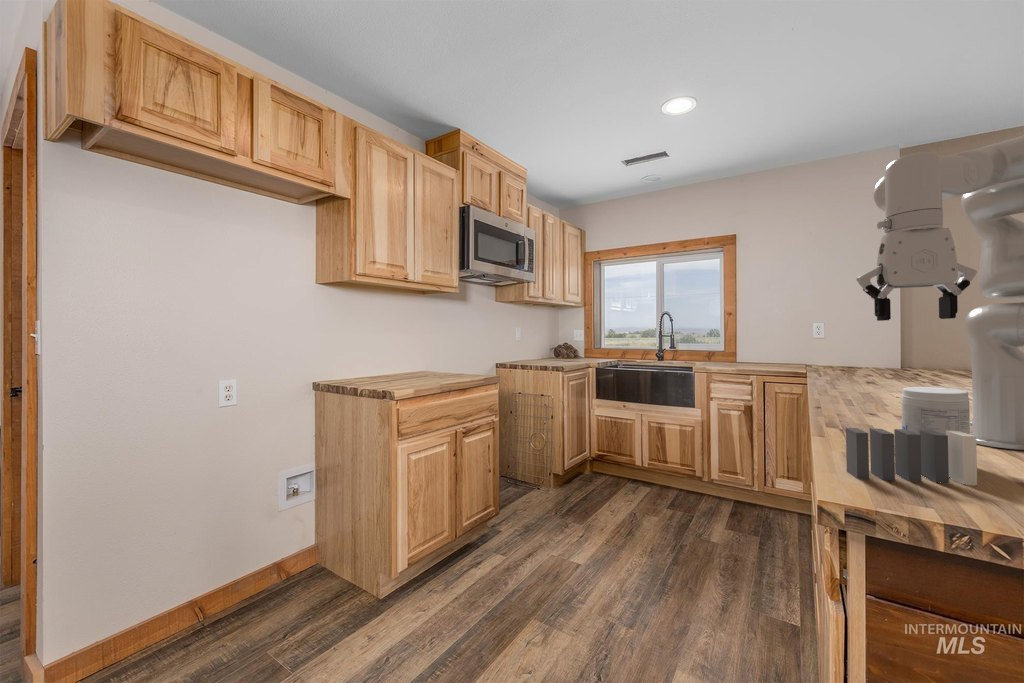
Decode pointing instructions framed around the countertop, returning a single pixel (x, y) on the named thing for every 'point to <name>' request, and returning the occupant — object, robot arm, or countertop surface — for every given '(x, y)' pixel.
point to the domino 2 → (882, 454)
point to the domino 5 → (962, 457)
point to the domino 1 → (857, 453)
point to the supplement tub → (935, 409)
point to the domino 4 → (934, 456)
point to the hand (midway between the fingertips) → (914, 319)
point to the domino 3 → (908, 454)
